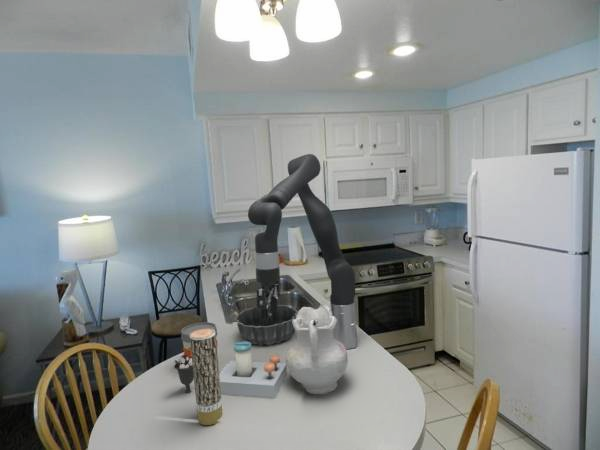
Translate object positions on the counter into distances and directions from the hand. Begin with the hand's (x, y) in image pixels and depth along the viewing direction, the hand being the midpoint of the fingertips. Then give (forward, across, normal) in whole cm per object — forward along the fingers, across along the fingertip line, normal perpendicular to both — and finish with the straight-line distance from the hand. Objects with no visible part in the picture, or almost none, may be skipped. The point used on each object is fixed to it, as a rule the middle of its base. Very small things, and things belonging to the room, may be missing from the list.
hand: (269, 315), depth 126 cm
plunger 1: (+18, -6, -2) cm, 19 cm away
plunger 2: (+18, -1, -1) cm, 18 cm away
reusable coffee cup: (+23, +6, +29) cm, 37 cm away
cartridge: (+22, -4, +8) cm, 23 cm away
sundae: (+23, -11, +24) cm, 35 cm away
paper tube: (+23, -22, +11) cm, 34 cm away
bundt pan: (+23, +36, +15) cm, 45 cm away
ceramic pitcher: (+22, 0, -15) cm, 27 cm away
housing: (+23, -4, +6) cm, 24 cm away
